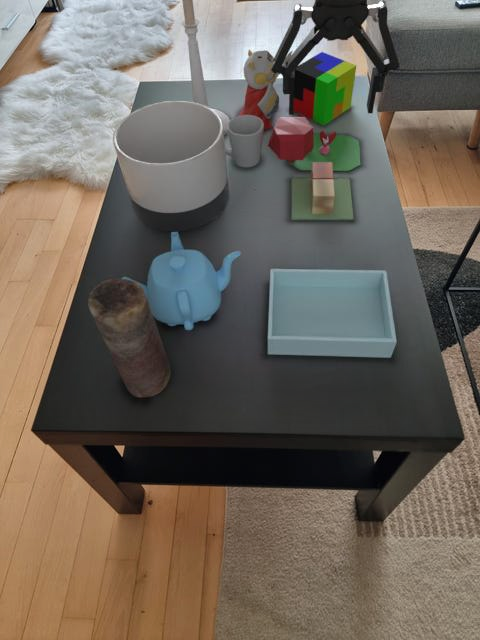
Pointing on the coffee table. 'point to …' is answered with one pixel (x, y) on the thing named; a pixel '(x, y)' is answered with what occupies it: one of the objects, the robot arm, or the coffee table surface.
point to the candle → (131, 335)
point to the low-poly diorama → (312, 145)
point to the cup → (245, 139)
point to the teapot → (185, 285)
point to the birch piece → (322, 196)
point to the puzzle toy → (323, 87)
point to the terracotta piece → (321, 171)
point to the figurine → (261, 87)
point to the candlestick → (197, 60)
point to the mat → (303, 206)
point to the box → (330, 313)
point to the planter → (173, 164)
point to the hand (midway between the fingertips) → (330, 110)
